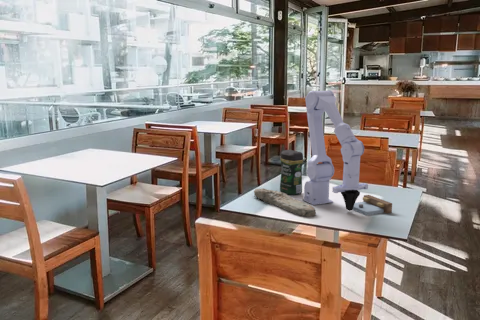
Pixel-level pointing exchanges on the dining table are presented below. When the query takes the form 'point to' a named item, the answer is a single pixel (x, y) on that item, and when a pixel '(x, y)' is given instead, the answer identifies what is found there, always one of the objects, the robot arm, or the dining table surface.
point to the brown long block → (378, 203)
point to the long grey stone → (285, 202)
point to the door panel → (367, 208)
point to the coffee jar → (291, 172)
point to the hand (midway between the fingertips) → (349, 209)
